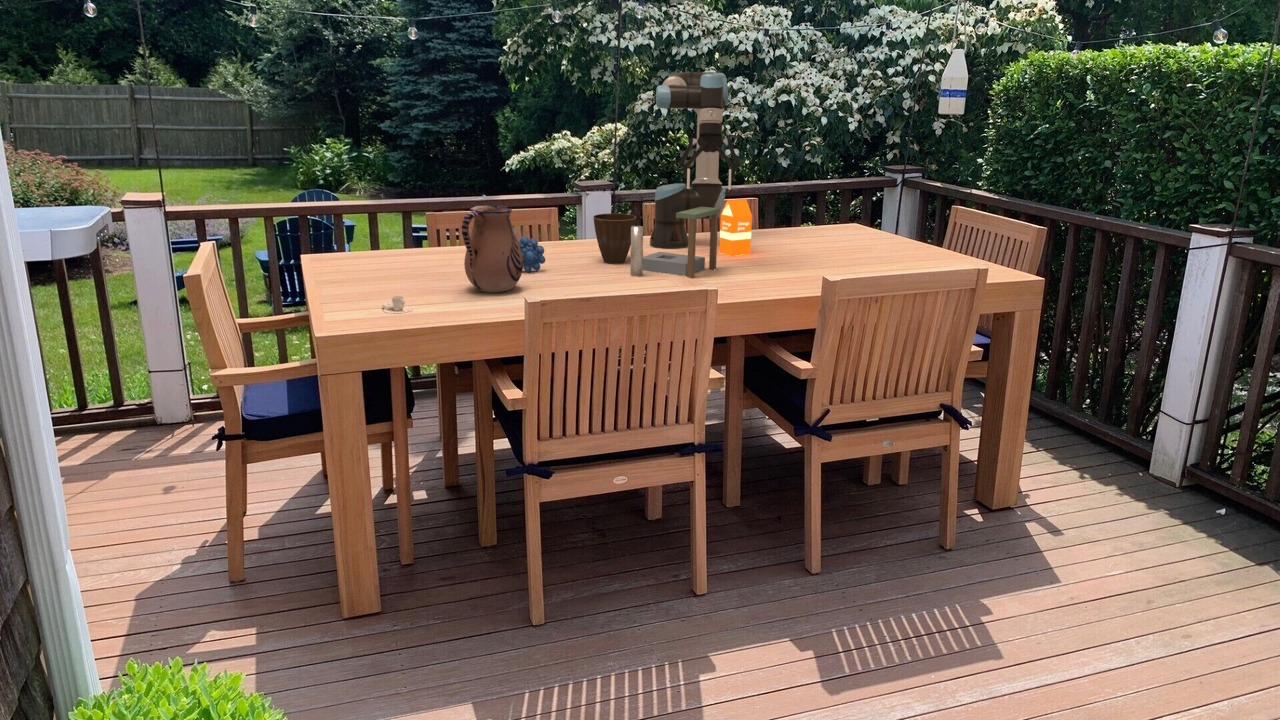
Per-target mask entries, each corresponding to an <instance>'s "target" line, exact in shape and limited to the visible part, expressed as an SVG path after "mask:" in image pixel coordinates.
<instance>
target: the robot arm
mask: <svg viewBox="0 0 1280 720" xmlns="http://www.w3.org/2000/svg"><path fill="white" fill-rule="evenodd" d="M728 87H729V86H728V80H727V77H726V74H724V73H722V72H714V71H712V72H710V71H708V72H706V71H704V72H699V71H698V72H692V71H691V72H688V71H687V72H679V73H675V74H673V75H670V76H669V77H667V78H666V79H665V80H664V81H663V82H662V84H661V85H660V84H659V85H657V87H656V91H655V92H656V93H655V96H656V97H655V105H656V107H657V108H658V109H664V110H665V109H667V110H668V109H688V110H690V109H691V110H693V111H694V112H695V113H696V114H697V115H696V116H697V119H696V123H697V124H696V138H693V137H690V138H689V140H688V145H687V146H686V148H685V151H683V154H682V157H681V158H680V161H679V162H678V166H679V167H680V168H683V179H686V183H670V184H664V185H660V186H658V187H656V189H655V194H654V195H655V196H654V226H653V229H652V232H651V235H650V237H649V246H651V247H654V248H659V249H660V248H661V249H681V248H682V247H683V248H686V246H687V247H688V232H687V229H686V228H687V227H686V225H685V224H686V218H676V213H678V212H682V211H686V210H690V209H694V208H698V207H711V208H720V213H718V219H721V213H722V211H723V209H724V206H725V205H724V203H725V199H726V198H725V197H726V191H727V189H728V190H730V191H731V190H732V180H735V178H736V177H735V176H736V169H738V168H740V167H741V165H742V164H741V162H740V161H739V158H738V156H737V154H736V152H735V149H734V147H733V144H732V138H731V137H728V138H723V124H722V122H723V118H724V117H723V116H724V115H723V112H724V111H725V107H726V106H728V105H729V89H728ZM723 144H724V145H725V146H727V147H728V149H729V152H730V155H731V156H732V159H733V161H734V163H733V162H732V161H731V159H730V158H729V157H728V155H726V153H725V152H724V151H723V149H722V148H721V146H722V145H723ZM695 145H696V151H695V152H694V154H693V155H692V156H691V157H690V158H689V159H688V160H687V158H688V156H689V154H690V152H691V150H692V148H693V147H694V146H695ZM720 156H721V158H722V159H723V160H724V161H725V162H726V163H727V164H728V166H729V167H730V168H729V169H728V187H727V189H726V188H725V187H723V182H721V181H720V179H719V166H720V165H719V164H720V163H719V162H720V161H719V160H720ZM686 160H687V161H686ZM695 160H696V161H695ZM685 161H686V162H685ZM694 162H695V178H694V180H693V181H692V182H691V179H690V178H691V169H690V168H689V167H690V166H691V165H692V164H693V163H694ZM690 182H691V183H690ZM690 184H691V187H690ZM698 220H711V215H710V216H706V217H702V218H699V219H698Z"/></svg>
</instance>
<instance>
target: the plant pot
mask: <svg viewBox="0 0 1280 720" xmlns="http://www.w3.org/2000/svg"><path fill="white" fill-rule="evenodd" d="M592 218H593V219H592V220H593V225H594V232H595V236H596V240H597V241H596V242H597V244H598V248H599V252H600V254H601V257H602V260H603V262H604V263H605V264H611V265H612V264H613V265H619V264H623V263H625V262H626V259H627V257H628V255H629V252H630V250H631V226H636V221H637V216H636V215H634V214H629V213H599V214H595V215H593V216H592Z"/></svg>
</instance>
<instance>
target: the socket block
mask: <svg viewBox="0 0 1280 720" xmlns="http://www.w3.org/2000/svg"><path fill="white" fill-rule="evenodd" d="M687 263H688V254H679V253H672V252H665V251H664V252H663V251H657V252H654V253H652V254H648V255H643V271H644V272H653V273H659V272H661V273H660V274H667V273H669V275H674V274H677V275H676V276H682V275H685V276H684V277H687V276H686V275H687ZM705 266H706V257H705V256H697V255H695V273H698V272H700V271H702V270H705Z"/></svg>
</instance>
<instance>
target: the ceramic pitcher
mask: <svg viewBox="0 0 1280 720" xmlns="http://www.w3.org/2000/svg"><path fill="white" fill-rule="evenodd" d="M469 210H470V211H469V212H467V213H466V214H465V215H464V217H463V219H462V222H461V223H462V224H461V235H462V239H463V242H464V243H463V244H464V246H465V248H466V251H465V256H464V261H463V262H464V271H465V274H466V276H467V279H468V280H469V282H470V284H472V286H473V287H474V288H476V289H477V290H478V291H479V292H484V293H492V294H493V293H502V292H507V291H510V290H511V289H513V288H514V287H515V286H516V285H517V284H518V282H519V281H520V279H521V277H522V273H523V270H524V269H523V258H522V253H521V249H520V245H519V242H520V241H519V240H518V237H517V232H516V230H515V228H514V227H513V224H512V221H511V213H512V212H513V211H512V209H511V208H509V206H508V205H497V206H491V205H486V204H485V205H475V206H474V207H471V208H470V209H469ZM472 220H473V226H472V229H471V233H470V230H469V227H470V224H471V221H472ZM518 241H519V242H518Z"/></svg>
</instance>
